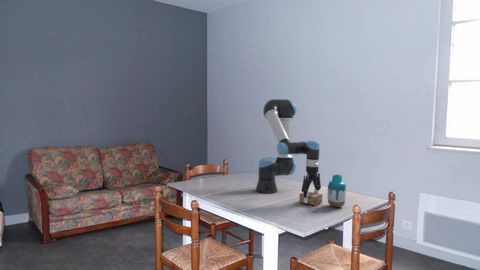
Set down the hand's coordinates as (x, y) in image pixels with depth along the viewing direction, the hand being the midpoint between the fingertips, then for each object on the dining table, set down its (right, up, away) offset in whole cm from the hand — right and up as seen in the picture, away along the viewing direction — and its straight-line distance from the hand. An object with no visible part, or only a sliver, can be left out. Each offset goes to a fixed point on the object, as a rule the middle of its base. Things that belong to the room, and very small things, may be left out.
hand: (310, 201), depth 224 cm
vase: (+14, -2, -7) cm, 16 cm away
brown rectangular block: (0, -1, 0) cm, 1 cm away
